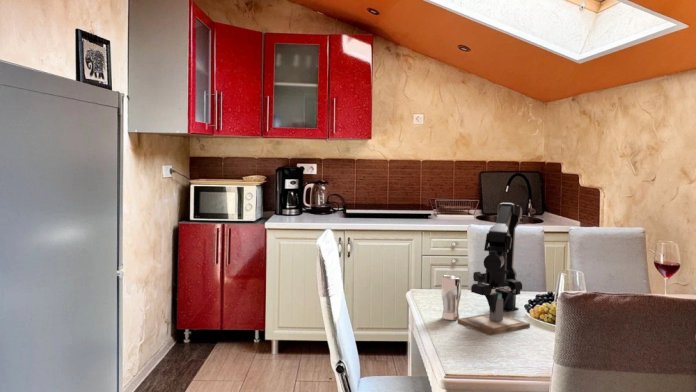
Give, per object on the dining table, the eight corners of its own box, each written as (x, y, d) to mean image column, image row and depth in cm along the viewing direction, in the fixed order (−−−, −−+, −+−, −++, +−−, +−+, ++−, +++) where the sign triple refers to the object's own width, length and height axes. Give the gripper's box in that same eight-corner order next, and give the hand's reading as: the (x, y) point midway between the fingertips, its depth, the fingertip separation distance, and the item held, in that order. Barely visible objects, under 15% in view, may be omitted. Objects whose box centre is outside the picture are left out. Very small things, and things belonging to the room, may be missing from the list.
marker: (503, 320, 198) (503, 293, 197) (495, 321, 196) (496, 294, 195) (496, 317, 201) (496, 291, 200) (488, 319, 199) (489, 292, 198)
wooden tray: (496, 315, 209) (496, 309, 209) (529, 327, 195) (530, 320, 195) (457, 322, 201) (457, 316, 200) (490, 335, 187) (490, 328, 186)
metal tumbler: (460, 321, 201) (461, 279, 200) (440, 320, 203) (441, 278, 201) (460, 316, 208) (461, 275, 207) (441, 315, 209) (442, 274, 208)
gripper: (500, 260, 209) (499, 303, 210) (460, 265, 199) (459, 309, 201) (524, 265, 199) (522, 310, 200) (483, 270, 190) (482, 317, 191)
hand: (496, 311), depth 198 cm, fingers closed on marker, 3 cm apart
